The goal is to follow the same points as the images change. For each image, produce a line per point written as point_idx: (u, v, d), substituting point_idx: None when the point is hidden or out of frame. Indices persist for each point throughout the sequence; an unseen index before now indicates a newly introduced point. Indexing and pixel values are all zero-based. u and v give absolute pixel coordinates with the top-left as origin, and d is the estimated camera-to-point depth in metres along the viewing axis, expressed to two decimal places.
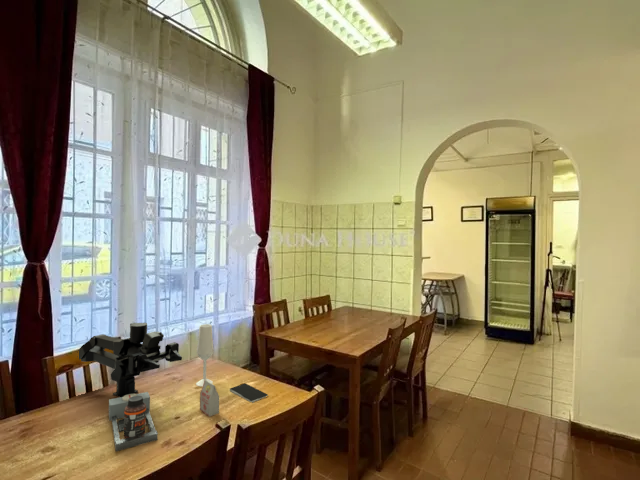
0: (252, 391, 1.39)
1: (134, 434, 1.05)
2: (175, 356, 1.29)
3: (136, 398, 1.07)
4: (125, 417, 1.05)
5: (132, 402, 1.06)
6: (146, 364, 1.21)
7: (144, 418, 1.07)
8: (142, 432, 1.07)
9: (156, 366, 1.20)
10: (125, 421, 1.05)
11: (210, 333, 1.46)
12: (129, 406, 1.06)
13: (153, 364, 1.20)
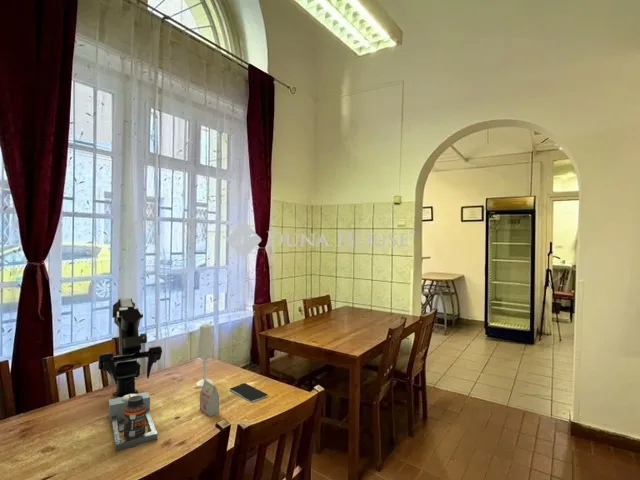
0: (252, 391, 1.39)
1: (134, 434, 1.05)
2: (147, 369, 1.19)
3: (136, 398, 1.07)
4: (125, 417, 1.05)
5: (132, 402, 1.06)
6: None
7: (144, 418, 1.07)
8: (142, 432, 1.07)
9: (114, 381, 1.12)
10: (125, 421, 1.05)
11: (210, 333, 1.46)
12: (129, 406, 1.06)
13: (113, 377, 1.13)
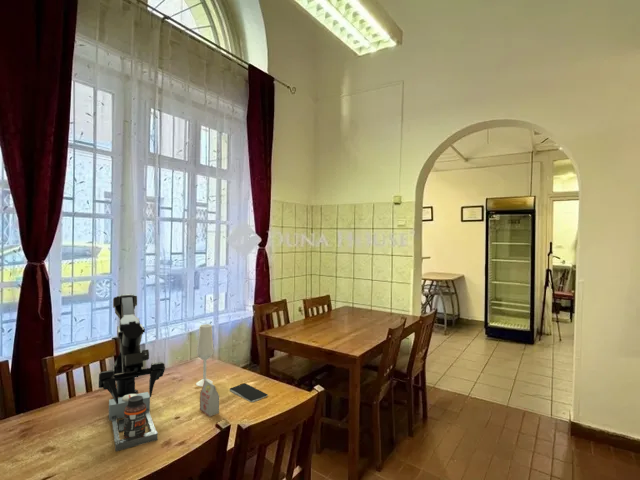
0: (252, 391, 1.39)
1: (134, 434, 1.05)
2: (149, 387, 1.14)
3: (136, 398, 1.07)
4: (125, 417, 1.05)
5: (132, 402, 1.06)
6: None
7: (144, 418, 1.07)
8: (142, 432, 1.07)
9: (115, 401, 1.07)
10: (125, 421, 1.05)
11: (210, 333, 1.46)
12: (129, 406, 1.06)
13: (114, 397, 1.08)
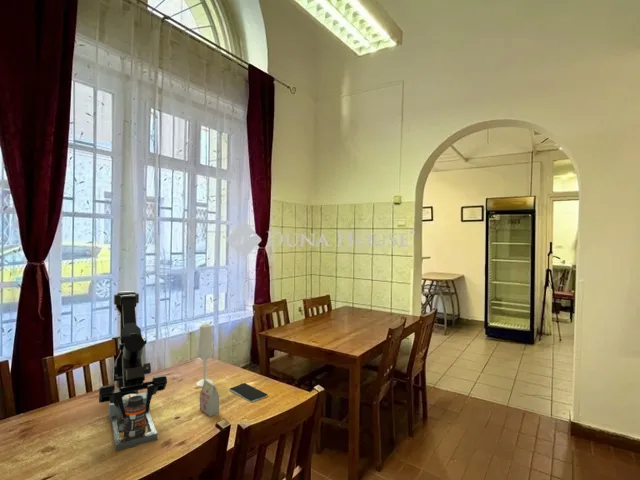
0: (252, 391, 1.39)
1: (134, 434, 1.05)
2: (146, 402, 1.10)
3: (136, 398, 1.07)
4: (125, 417, 1.05)
5: (132, 402, 1.06)
6: None
7: (144, 418, 1.07)
8: (142, 432, 1.07)
9: (122, 415, 1.05)
10: (125, 421, 1.05)
11: (210, 333, 1.46)
12: (129, 406, 1.06)
13: (120, 411, 1.05)
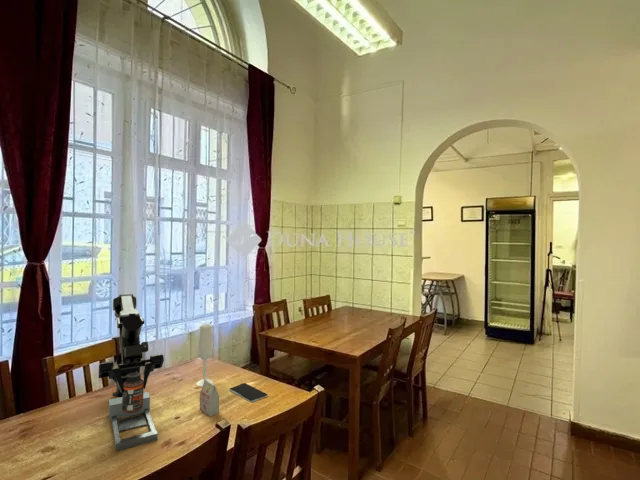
0: (252, 391, 1.39)
1: (132, 408, 1.10)
2: None
3: (134, 374, 1.13)
4: (123, 392, 1.10)
5: (130, 378, 1.11)
6: None
7: (142, 393, 1.13)
8: (140, 406, 1.12)
9: (120, 390, 1.10)
10: (123, 396, 1.10)
11: (210, 333, 1.46)
12: (127, 382, 1.11)
13: (119, 386, 1.10)
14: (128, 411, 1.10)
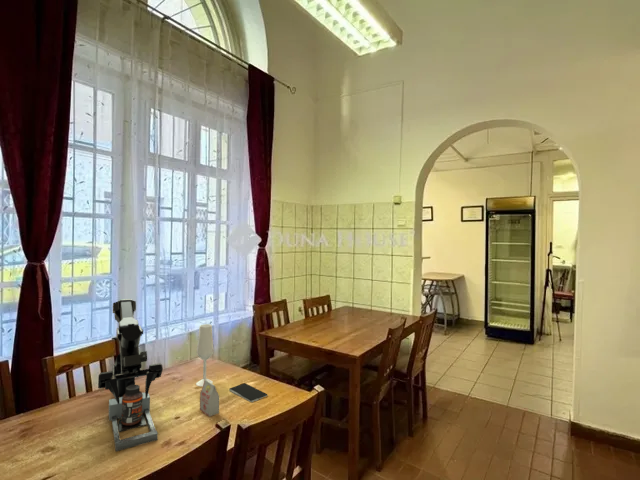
0: (252, 390, 1.39)
1: (131, 420, 1.12)
2: (145, 388, 1.17)
3: (133, 387, 1.14)
4: (123, 405, 1.12)
5: (129, 391, 1.12)
6: None
7: (141, 406, 1.14)
8: (139, 419, 1.13)
9: None
10: (122, 409, 1.12)
11: (210, 333, 1.46)
12: (126, 394, 1.12)
13: (115, 396, 1.11)
14: (127, 424, 1.11)
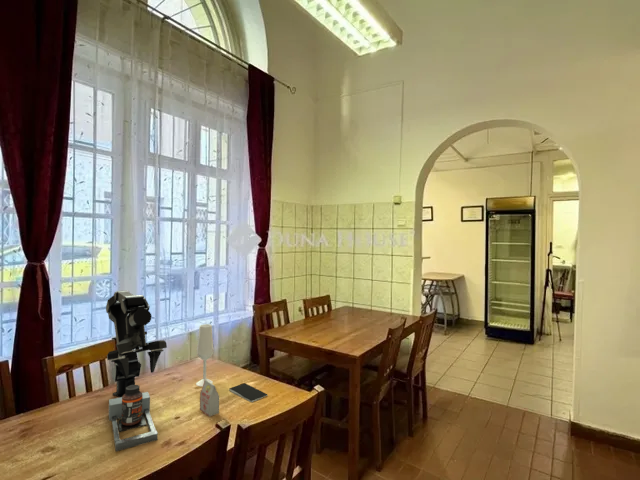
0: (252, 390, 1.39)
1: (131, 420, 1.12)
2: None
3: (133, 387, 1.14)
4: (123, 405, 1.12)
5: (129, 390, 1.12)
6: None
7: (140, 406, 1.14)
8: (139, 419, 1.13)
9: None
10: (122, 409, 1.12)
11: (210, 333, 1.46)
12: (126, 394, 1.13)
13: None
14: (127, 424, 1.11)
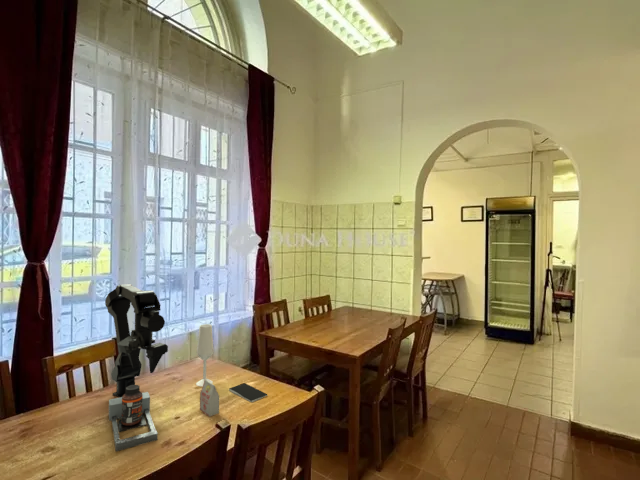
0: (252, 390, 1.39)
1: (131, 420, 1.12)
2: None
3: (133, 387, 1.14)
4: (123, 405, 1.12)
5: (129, 390, 1.12)
6: None
7: (140, 406, 1.14)
8: (139, 419, 1.13)
9: None
10: (122, 409, 1.12)
11: (210, 333, 1.46)
12: (126, 394, 1.13)
13: None
14: (127, 424, 1.11)
